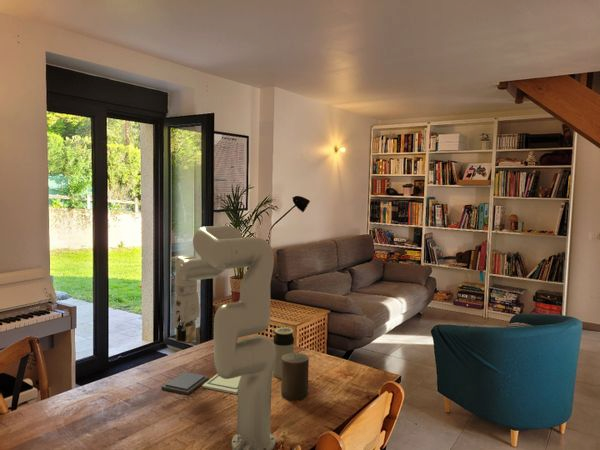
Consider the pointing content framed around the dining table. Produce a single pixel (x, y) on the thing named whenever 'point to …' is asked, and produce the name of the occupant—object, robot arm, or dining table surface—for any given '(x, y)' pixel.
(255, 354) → the robot arm
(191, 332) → the stamp
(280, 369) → the travel mug
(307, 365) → the pillar candle
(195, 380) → the grey flat block
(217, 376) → the board
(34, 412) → the dining table surface
